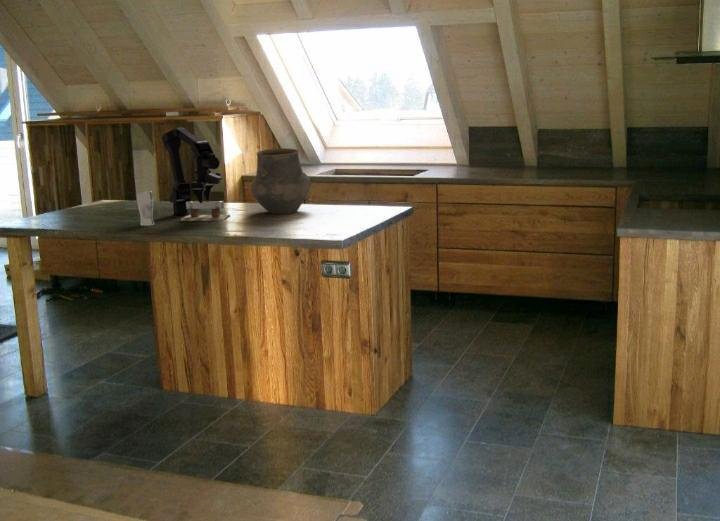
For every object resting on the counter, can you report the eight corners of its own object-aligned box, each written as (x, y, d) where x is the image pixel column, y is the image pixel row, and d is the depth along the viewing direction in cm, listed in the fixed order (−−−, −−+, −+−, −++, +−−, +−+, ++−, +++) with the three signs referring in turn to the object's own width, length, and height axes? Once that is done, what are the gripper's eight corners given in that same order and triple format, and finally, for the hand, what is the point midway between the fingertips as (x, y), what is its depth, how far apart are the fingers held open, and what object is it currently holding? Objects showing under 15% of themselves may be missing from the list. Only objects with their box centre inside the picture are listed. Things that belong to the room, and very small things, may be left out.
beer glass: (136, 225, 375) (133, 192, 372) (150, 223, 380) (148, 190, 376) (143, 226, 370) (140, 193, 367) (157, 224, 374) (155, 191, 371)
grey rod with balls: (185, 208, 385) (184, 202, 385) (188, 207, 389) (187, 201, 388) (222, 208, 382) (221, 202, 382) (225, 207, 386) (224, 201, 386)
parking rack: (181, 220, 383) (180, 210, 382) (189, 217, 394) (188, 206, 393) (222, 220, 380) (222, 209, 379) (230, 216, 390) (229, 206, 389)
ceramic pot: (315, 207, 411) (313, 146, 405) (306, 216, 384) (303, 151, 377) (259, 208, 414) (256, 148, 408) (246, 217, 387) (242, 153, 380)
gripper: (212, 170, 372) (214, 204, 375) (225, 165, 390) (227, 198, 393) (188, 170, 373) (191, 204, 377) (202, 166, 391) (204, 199, 395)
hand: (204, 201), depth 385 cm, fingers open, 9 cm apart
